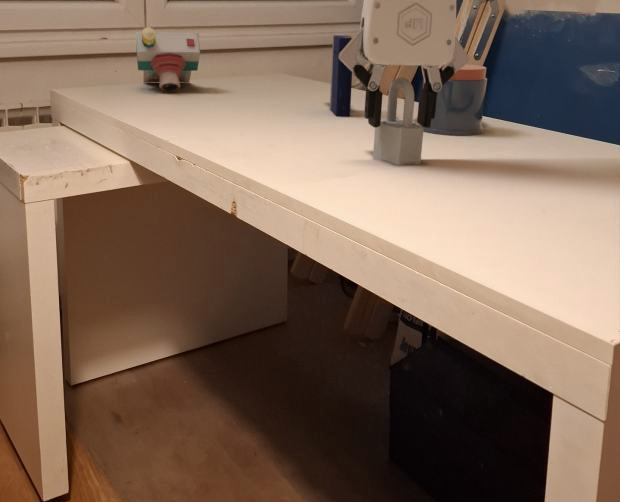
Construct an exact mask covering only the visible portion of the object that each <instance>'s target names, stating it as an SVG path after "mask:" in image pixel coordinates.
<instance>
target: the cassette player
mask: <svg viewBox="0 0 620 502" xmlns="http://www.w3.org/2000/svg"><path fill="white" fill-rule="evenodd" d="M352 38H353V37H352V36H351V35H349V34H348V35H346V34H332V48H331V49H332V50H331V67H330V68H331V69H330V92H329V93H330V94H329V110H330V111H331V112H332V113H333V114H334V115H335V116H336V117H350V116H351V103H352V84H353V72H352V71H351V70H350V69H349V68H348V67H347V66H346V65H345V64H344V63H343V62H342V61H341V60H340V59H339V54H340V52H341V51H342V50H343V49H344V48H345V46H346V45H347V44H348V43H349V42H350V40H351V39H352Z"/></svg>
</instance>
